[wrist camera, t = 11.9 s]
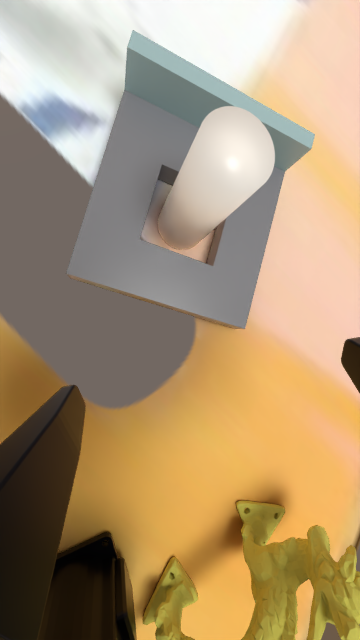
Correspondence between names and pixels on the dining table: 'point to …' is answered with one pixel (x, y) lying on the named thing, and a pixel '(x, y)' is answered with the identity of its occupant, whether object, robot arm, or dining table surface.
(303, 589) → the dining table surface
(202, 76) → the housing
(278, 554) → the sculpture
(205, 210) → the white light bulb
